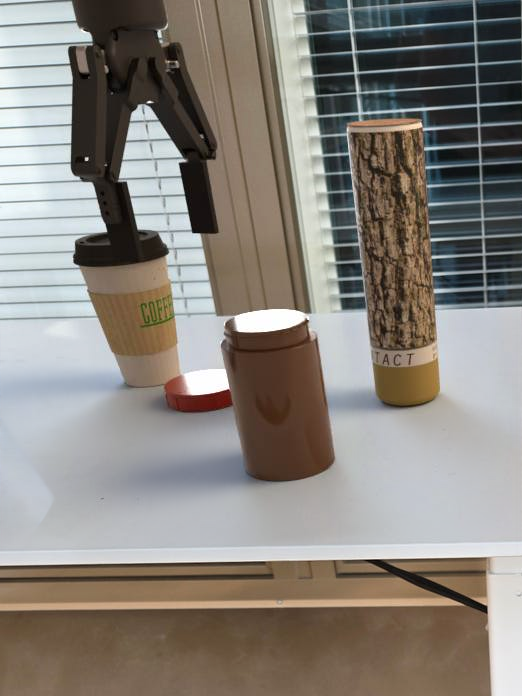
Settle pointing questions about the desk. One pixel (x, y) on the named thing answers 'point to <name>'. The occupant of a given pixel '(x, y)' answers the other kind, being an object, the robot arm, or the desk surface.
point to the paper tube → (396, 257)
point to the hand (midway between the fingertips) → (170, 246)
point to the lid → (198, 391)
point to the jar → (278, 394)
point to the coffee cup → (133, 306)
